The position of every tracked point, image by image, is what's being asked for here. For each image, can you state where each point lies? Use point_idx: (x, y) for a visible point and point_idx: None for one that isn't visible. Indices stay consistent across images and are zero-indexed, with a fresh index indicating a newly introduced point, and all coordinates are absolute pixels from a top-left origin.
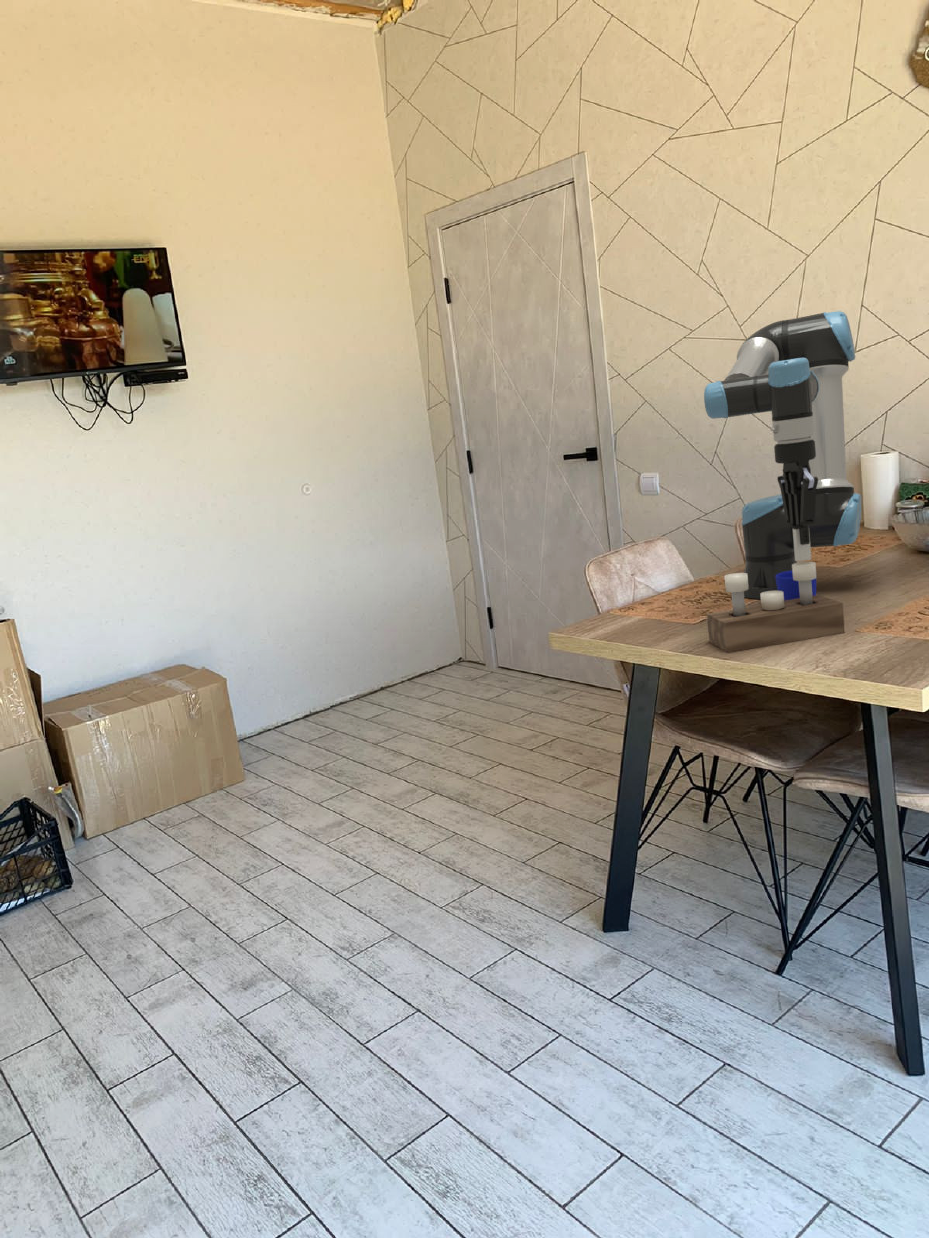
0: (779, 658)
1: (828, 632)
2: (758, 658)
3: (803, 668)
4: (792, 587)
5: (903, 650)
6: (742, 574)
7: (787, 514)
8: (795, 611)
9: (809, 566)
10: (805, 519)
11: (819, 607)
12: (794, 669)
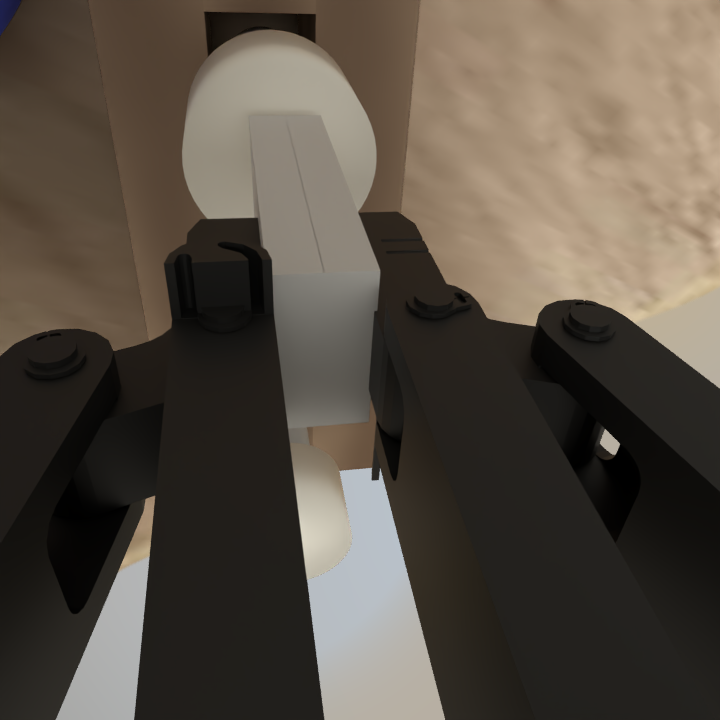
0: (534, 288)
1: None
2: None
3: (677, 270)
4: None
5: None
6: (302, 523)
7: (101, 594)
8: (400, 201)
9: (373, 151)
10: (633, 475)
11: (413, 63)
12: (663, 294)
